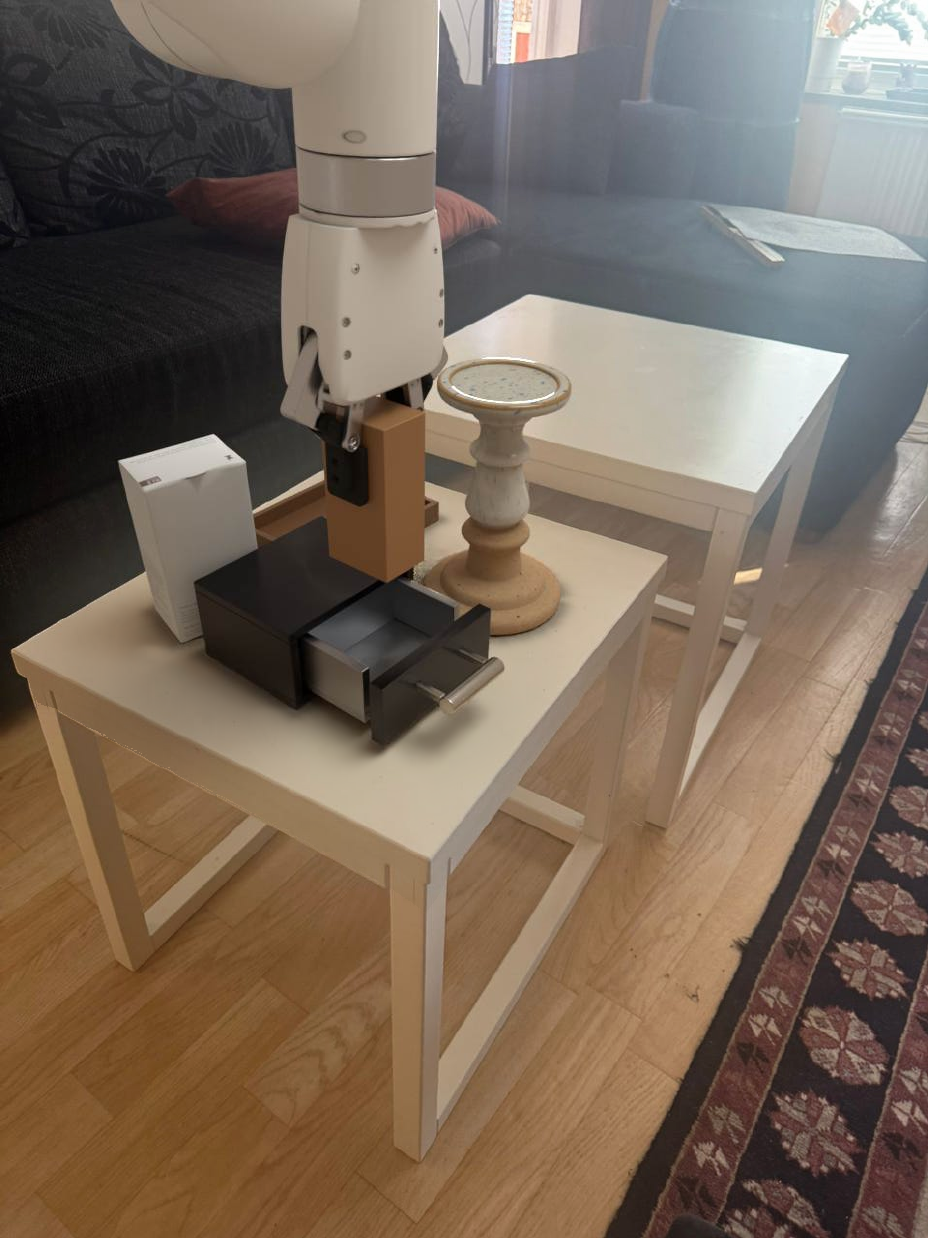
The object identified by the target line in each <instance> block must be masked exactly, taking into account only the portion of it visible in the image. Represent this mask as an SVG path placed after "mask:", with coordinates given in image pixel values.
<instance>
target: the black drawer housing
mask: <svg viewBox="0 0 928 1238" xmlns="http://www.w3.org/2000/svg"><path fill="white" fill-rule="evenodd" d="M414 568H415V566H414V567H413V568H411V569H409V570H408V571H406V572H404V573H403V574H401V575H402V576H404V577H406V578H408V579H410V580H412V581H414V579H415V577H414V575H415V574H414V572H415V570H414ZM414 582H415V581H414ZM384 584H385V582H383V581H381V580H379V579H377V578H375V577H372V576H370V575H368V574H366V573H364V572H362V571H360V570H358V569H356V568H354V567H351V566H349V565H347V564H345V563H343V562H341V561H339V560H337V559H335V558H332V557H330V556H329V543H328V528H327V518H325V517H323V516H320V517H318V518H316V519H314V520H312V521H310V522H308V523H306V524H304V525H302V526H300V527H298V528H296V529H294V530H293V531H291V532H289V533H287V534H285V535H283V536H281V537H279V538H277V539H275V540H273V541H271V542H269V543H267V544H266V545H264V546H262V547H260V548H258V549H256V550H254V551H252V552H250V553H248V554H246V555H244V556H242V557H240V558H238V559H237V560H235V561H233V562H231V563H229V564H227V565H225V566H223V567H221V568H219V569H217V570H215V571H213V572H211V573H210V574H208V575H206V576H204V577H202V578H200V579H198V580H196V581H194V588H195V594H196V599H197V604H198V610H199V615H200V621H201V626H202V631H203V635H202V636H203V641H204V646H205V654H206V655H207V656H208V657H210V658H212V659H214V660H215V661H216V662H218V663H220V664H222V665H223V666H225V667H227V668H228V669H230V670H232V671H233V672H234V673H236V674H238V675H239V676H241V677H242V678H244V679H245V680H248V681H249V682H251V683H252V684H254V685H256V686H257V687H259V688H261V689H262V690H264V691H265V692H267V693H269V694H270V695H272V696H273V697H274V698H277V699H278V700H279V701H282V702H283V703H285V704H286V705H288V706H289V707H291V708H293V709H294V710H296V711H298V710H299V709H301V708H303V707H304V706H305V705H307V704H308V703H309V702H311V701H312V700H314V699H315V698H316V697H318V696H319V695H317V694H315V693H314V692H312V691H310V690H309V689H307V688H305V687H304V686H302V679H301V669H300V660H299V650H298V641H297V639H298V638H300V637H301V636H303V635H304V634H306V633H308V632H309V631H311V630H312V629H314V628H316V627H317V626H319V625H320V624H322V623H324V622H325V621H327V620H328V619H330V618H331V617H333V616H335V615H336V614H338V613H339V612H341V611H343V610H344V609H346V608H347V607H349V606H351V605H352V604H354V603H355V602H357V601H358V600H360V599H362V598H363V597H365V596H366V595H368V594H370V593H371V592H373V591H374V590H376V589H378V588H379V587H381V586H382V585H384Z"/></svg>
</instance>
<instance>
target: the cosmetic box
mask: <svg viewBox="0 0 928 1238" xmlns="http://www.w3.org/2000/svg"><path fill="white" fill-rule="evenodd" d="M117 463H118V468H119V472H120V476H121V479H122V484H123V489H124V491H125V496H126V501H127V504H128V508H129V512H130V515H131V519H132V523H133V527H134V530H135V534H136V538H137V542H138V546H139V550H140V554H141V558H142V562H143V566H144V571H145V575H146V578H147V581H148V586H149V589H150V593H151V598H152V602H153V606H154V610H155V611H156V612H157V613H158V615H159V616H160V617H161V619H162V620H163V621H164V623H165V624H166V625H167V626H168V628H169V629H170V631H171V632H172V634H173V635H174V636H175V638H176V639H177V640H178V641H179V643H181V644H183V643H186V642H189V641H191V640H193V639H196V638H198V637H200V636H203V631H202V626H201V621H200V615H199V610H198V604H197V599H196V594H195V588H194V581H196V580H198V579H200V578H202V577H204V576H206V575H208V574H210V573H211V572H213V571H215V570H217V569H219V568H221V567H223V566H225V565H227V564H229V563H231V562H233V561H235V560H237V559H238V558H240V557H242V556H244V555H246V554H248V553H250V552H252V551H254V550H256V549H258V546H257V540H256V533H255V525H254V518H253V514H254V511H253V506H252V500H251V492H250V486H249V479H248V472H247V461H246V460H245V459H243V458H242V457H241V456H239V455H238V454H237V453H236V452H235V451H234V450H232V449H231V448H230V447H229V446H227V444H226V443H224V442H223V441H222V440H221V439H220V438H219V437H218V436H217V435H215V434H214V433H212V434H209V435H205V436H203V437H199V438H195V439H192V440H189V441H188V440H187V441H185V442H182V443H178V444H174V445H171V446H168V447H164V448H160V449H157V450H153V451H150V452H149V451H148V452H145V453H142V454H139V455H135V456H131V457H127V458H123V459H119V460H118V461H117Z"/></svg>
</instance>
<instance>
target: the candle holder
mask: <svg viewBox="0 0 928 1238" xmlns="http://www.w3.org/2000/svg"><path fill="white" fill-rule="evenodd" d="M572 386H573V385H572V382H571V380H570V379H569V378H568V376H567V375H566V374H564V373H563V372H562V371H560V370H558V369H557V368H554V367H551V366H549V365H547V364H544V363H541V362H536V361H532V360H527V359H521V358H513V357H512V358H511V357H485V358H484V357H483V358H474V359H468V360H464V361H460V362H457V363H455V364H452V365H450V366H448V367H446V368H445V369H443V370H441V372H440V373H439V375H438V376H437V380H436V390H437V393H438V396H439V397H440V399H441V400H442V401H443V402H444V403H445V404H446V405H448V406H450V407H451V408H453V409H455V410H457V411H461V412H463V413H466V414H469V415H472V416H473V417H474V419H476V420H477V421H478V423H479V428H480V429H479V430H480V431H479V435H478V436H477V437H476V438H475V439H473V440H472V442H471V443H470V445H469V447H468V448H469V449H468V450H469V454H470V456H471V457H472V458H473V459H474V460H475V467H474V470H473V475H472V479H471V481H470V485H469V486H468V489H467V491H466V494H465V496H464V507H465V510H466V513H467V514H468V515H469V517H468V518H467V519H465V520H464V521H463V523H462V526H461V535H462V538H463V539H464V540H465V541H466V542H467V543H468V549H466V550H461V551H459V552H455V553H452V554H450V555H448V556H446V557H444V558H443V559H441V560H439V561H438V562H437V563H435V564H434V565H433V566H432V567H431V568H430V570H429V571H428V572H427V575H426V576H425V580H424V583H423V586H425V587H427V588H429V589H431V590H433V591H435V592H438V593H440V594H442V595H444V596H446V597H448V598H450V599H452V600H454V601H457V602H459V603H460V608H459V618H460V617H461V616H462V615H464V614H465V613H466V612H468V611H469V610H471V609H472V608H473V607H475V606H476V605H477V604H479V603H480V604H482V605H484V606H486V607H488V608H490V609H491V623H490V636H505V635H506V636H507V635H514V634H519V633H523V632H528V631H530V630H533V629H535V628H537V627H539V626H541V625H543V624H544V623H546V622H547V621H548V620H549V619H551V618H552V617H553V615H554V614H555V612H556V611H557V609H558V607H559V604H560V601H561V597H562V595H561V585H560V582H559V579H558V578H557V576H556V574H555V573H554V572H553V571H552V570H551V568H549V567H548V566H547V565H545V564H544V563H543V562H541V561H540V560H538V559H537V558H535V557H532V556H530V555H529V554H528V555H527V554H526V553H523V552H521V547H523V545H525V544H526V543H527V542H528V540H529V539H530V534H531V530H530V526H529V525H528V523H527V522H526V520H524V519H525V518H526V517H527V515H528V514H529V511H530V509H531V500H530V495H529V491H528V488H527V484H526V479H525V472H524V463H525V462H527V461H528V460H529V459H530V457H531V455H532V450H533V449H532V447H531V445H530V444H529V442H528V441H527V440H526V439H525V438H524V428H525V427H526V423H528V422H530V421H531V420H532V419H533V418H538V417H543V416H548V415H551V414H553V413H556V412H557V411H559V410H561V409H562V408H564V407H565V406H566V405H567V404H568V403H569V401H570V399H571V396H572V394H573V387H572Z"/></svg>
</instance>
